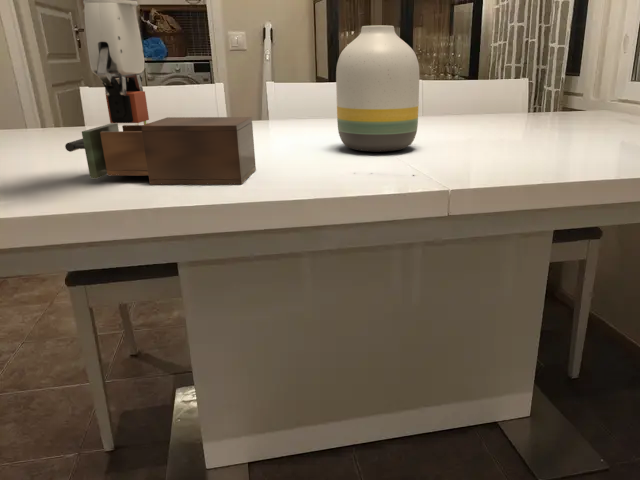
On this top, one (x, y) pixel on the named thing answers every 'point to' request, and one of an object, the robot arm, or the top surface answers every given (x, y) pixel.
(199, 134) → the cabinet
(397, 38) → the vase
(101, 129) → the drawer
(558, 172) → the top surface
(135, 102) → the block
